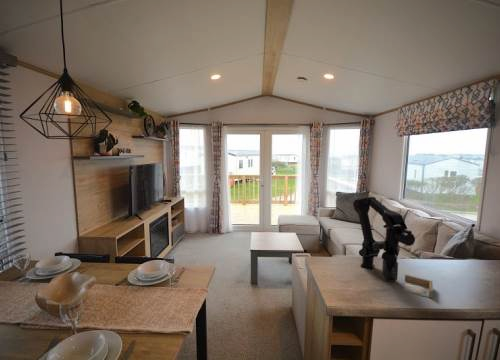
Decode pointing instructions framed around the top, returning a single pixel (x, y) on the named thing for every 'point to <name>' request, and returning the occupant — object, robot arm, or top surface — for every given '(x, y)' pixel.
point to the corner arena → (418, 286)
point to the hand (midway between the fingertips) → (390, 268)
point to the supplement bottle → (390, 272)
